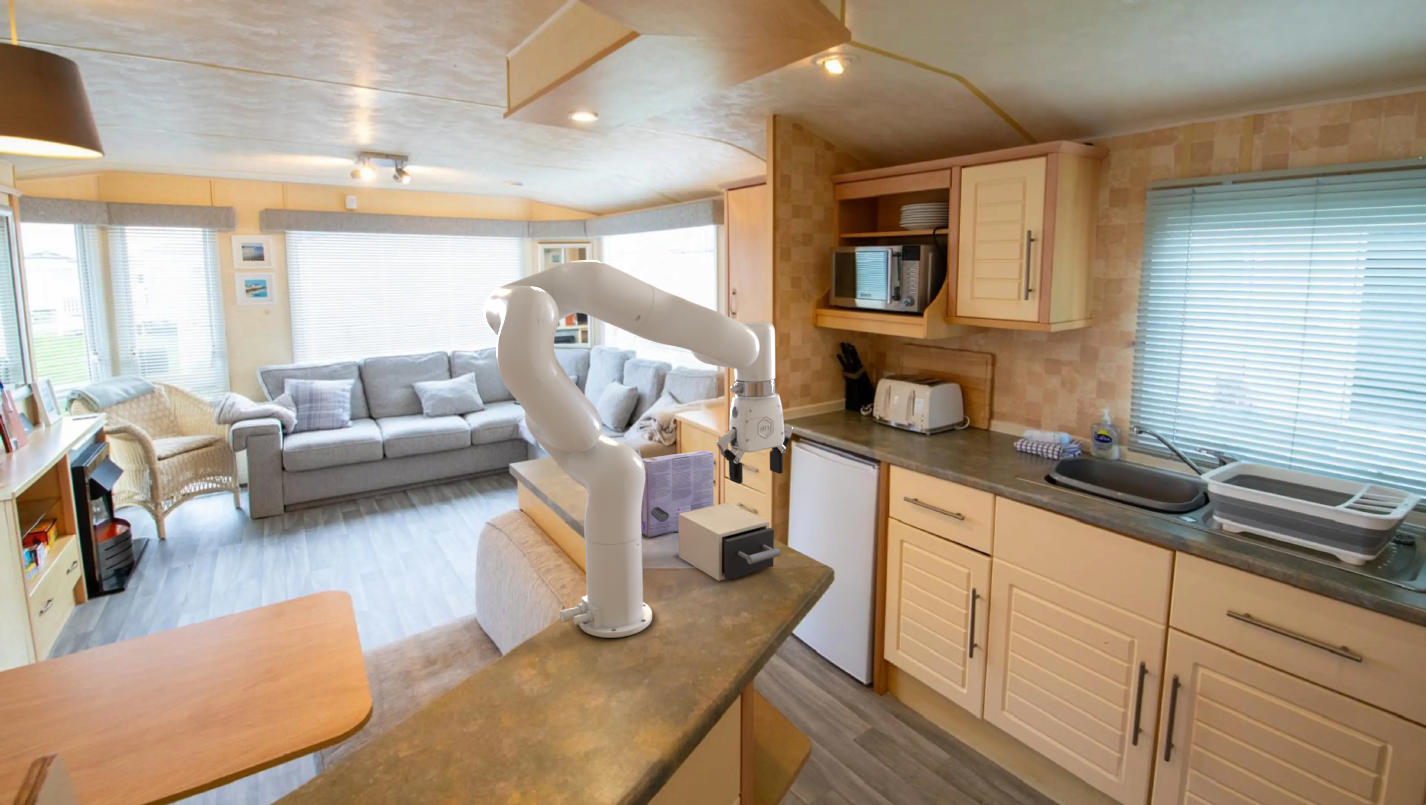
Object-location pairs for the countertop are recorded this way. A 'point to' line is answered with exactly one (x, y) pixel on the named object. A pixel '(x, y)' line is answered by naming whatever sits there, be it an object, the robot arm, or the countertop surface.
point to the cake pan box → (675, 489)
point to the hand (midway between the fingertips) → (756, 476)
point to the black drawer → (748, 552)
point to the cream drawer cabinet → (712, 534)
